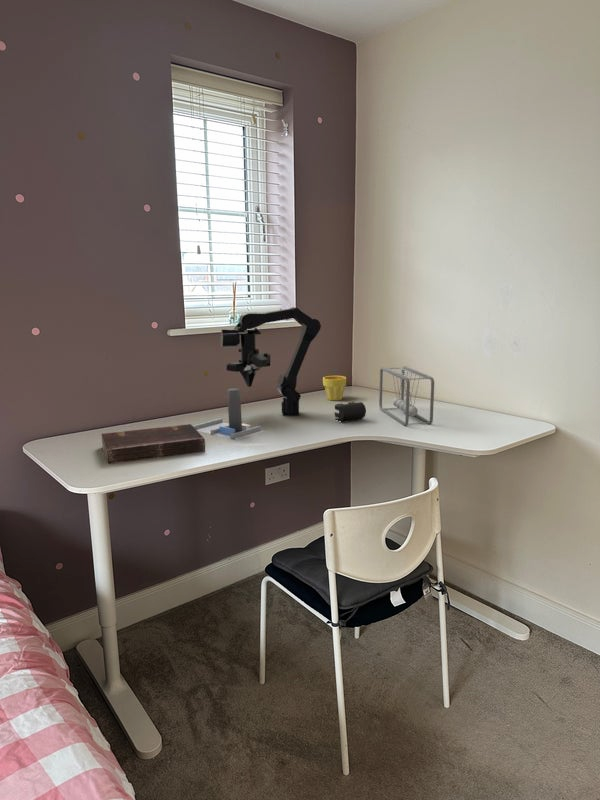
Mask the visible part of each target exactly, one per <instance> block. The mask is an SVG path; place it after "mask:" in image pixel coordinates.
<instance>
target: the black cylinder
mask: <svg viewBox="0 0 600 800" xmlns="http://www.w3.org/2000/svg"><path fill="white" fill-rule="evenodd" d="M334 410H336V411H338V412H334V417H335V419H334V421H336V420H338V421H337V422H339V421H341V422H340V423H345V421H347V422H353V421H358V420H359V419H360V420H362V419H363V418H365V416H366V415H367V409H366V405H365V404H364V403H363V402H361V401H358V402H355V401H351V402H347V403H345V404H344V403H341V402H340V403H336V404H335V405H334ZM352 420H353V421H352Z"/></svg>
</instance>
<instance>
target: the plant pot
mask: <svg viewBox="0 0 600 800" xmlns="http://www.w3.org/2000/svg"><path fill="white" fill-rule="evenodd" d="M322 385H323V386H324V390H325V394H326V399H327V400H328V401H342V400H343V398H344V391H345V387H346V386H347V377H346V376H343V375H327V376H323V377H322Z"/></svg>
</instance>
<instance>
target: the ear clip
mask: <svg viewBox="0 0 600 800" xmlns="http://www.w3.org/2000/svg"><path fill="white" fill-rule="evenodd" d="M250 428H251V424H247V423H242V429H244V430H247V429H250Z"/></svg>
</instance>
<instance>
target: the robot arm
mask: <svg viewBox="0 0 600 800" xmlns="http://www.w3.org/2000/svg"><path fill="white" fill-rule="evenodd" d="M291 319H293V320H294V321H295V322H297V323H298V324H299V325H300V326H301V327H300V336H299V341H298V343H297V345H296V347H295V350H294V353H293V355H292V358H291V359H290V362H289V365H288V368H287V370H285V371H286V372H285V373H284V374H282V373H280V374H279V375H278V377H279V378H278V380H277V381H276V382H275V383H276V389H277V392H278V393H279V394H281V397H282V401H281V413H282V416H300V399H301V397H302V395H301V394H300V393H299V392H298V391H297V389H296V387H297V385H298V383H297V382H298V381H297V380H298V374H299V372H300V369H301V368H302V365H303V362H304V360H305V356H306V355H307V352H308V350H309V347H310V345H311V342H312V341H313V340H314V339H315V338H316V337H317V335H318V334H319V332H320V330H321V328H322V325H321V322H320V320H318V319H316V318H313V317H310V316H309V315H307V314H306V313H305V312H303V311H301V309H300V308H298V307H295V306H293V307H290V308H284V309H279V310H273V311H267V312H243V313H241V314H240V316H239V318H238V323H237V324H236V326H235V327H234V328H233V329H231V328H230V329H227V328H222V329H220V330H221V333H220V336H219V337H220V339H219V341H220V346H221V348H237V347H238V346H239V345H240V348H238V352H239V353H240V359H239V360H238V362H237V361H231V362H227V364H226V371H228V372H236V373H237V372H238V373H240V375H241V377H242V378H243V380H244V382H245V384H246V386H247V387H248V388H251V387H252V385H253V382H254V378H255V376H256V373H257V372H258V371H260V370H261V368H264V367H265V368H266V367H271V354H270V353H268V352H266V353H263V354H262V353H260V350H259V348H257V340H256V338H257V337H256V336H257V335H262V332H261V331H259V329H258V327H261V326H262V325H264V324H267V323H273V322H274V323H275V322H278V321H284V320H291Z"/></svg>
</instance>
